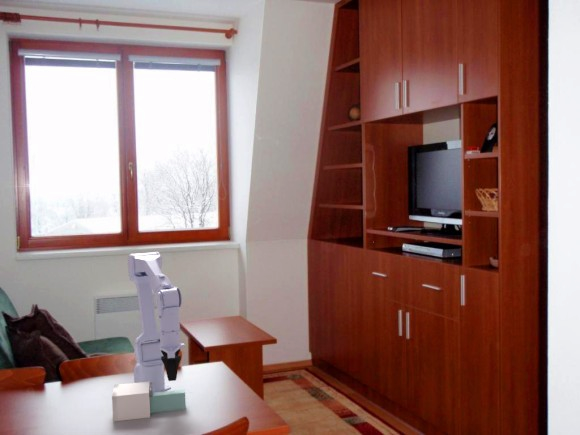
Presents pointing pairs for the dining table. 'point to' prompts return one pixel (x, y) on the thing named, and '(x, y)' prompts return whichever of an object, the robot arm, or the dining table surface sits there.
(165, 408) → the mint green rectangular block
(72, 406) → the dining table surface
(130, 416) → the white box
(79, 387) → the dining table surface
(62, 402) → the dining table surface
